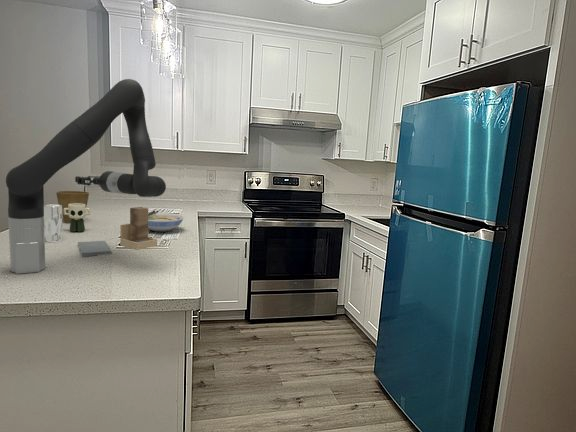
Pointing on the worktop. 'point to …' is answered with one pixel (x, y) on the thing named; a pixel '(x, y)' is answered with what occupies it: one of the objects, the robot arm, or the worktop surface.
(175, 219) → the ramen bowl
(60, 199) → the plant pot
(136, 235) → the walnut block
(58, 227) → the beer glass
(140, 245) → the carton
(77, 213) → the character mug
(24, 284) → the worktop surface
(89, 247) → the blue-grey flat slab
